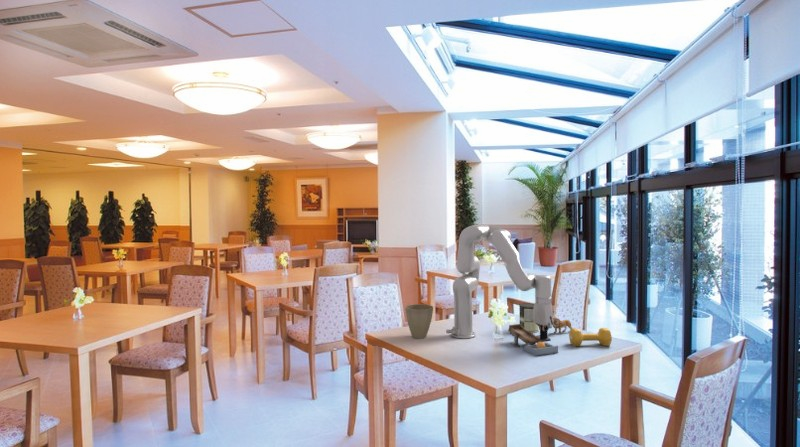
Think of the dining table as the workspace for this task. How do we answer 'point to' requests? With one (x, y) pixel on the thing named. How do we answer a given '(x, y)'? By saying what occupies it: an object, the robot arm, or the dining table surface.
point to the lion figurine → (560, 324)
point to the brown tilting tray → (525, 334)
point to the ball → (540, 345)
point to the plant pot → (419, 319)
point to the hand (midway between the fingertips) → (543, 338)
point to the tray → (541, 349)
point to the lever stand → (517, 341)
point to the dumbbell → (590, 337)
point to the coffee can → (528, 317)
